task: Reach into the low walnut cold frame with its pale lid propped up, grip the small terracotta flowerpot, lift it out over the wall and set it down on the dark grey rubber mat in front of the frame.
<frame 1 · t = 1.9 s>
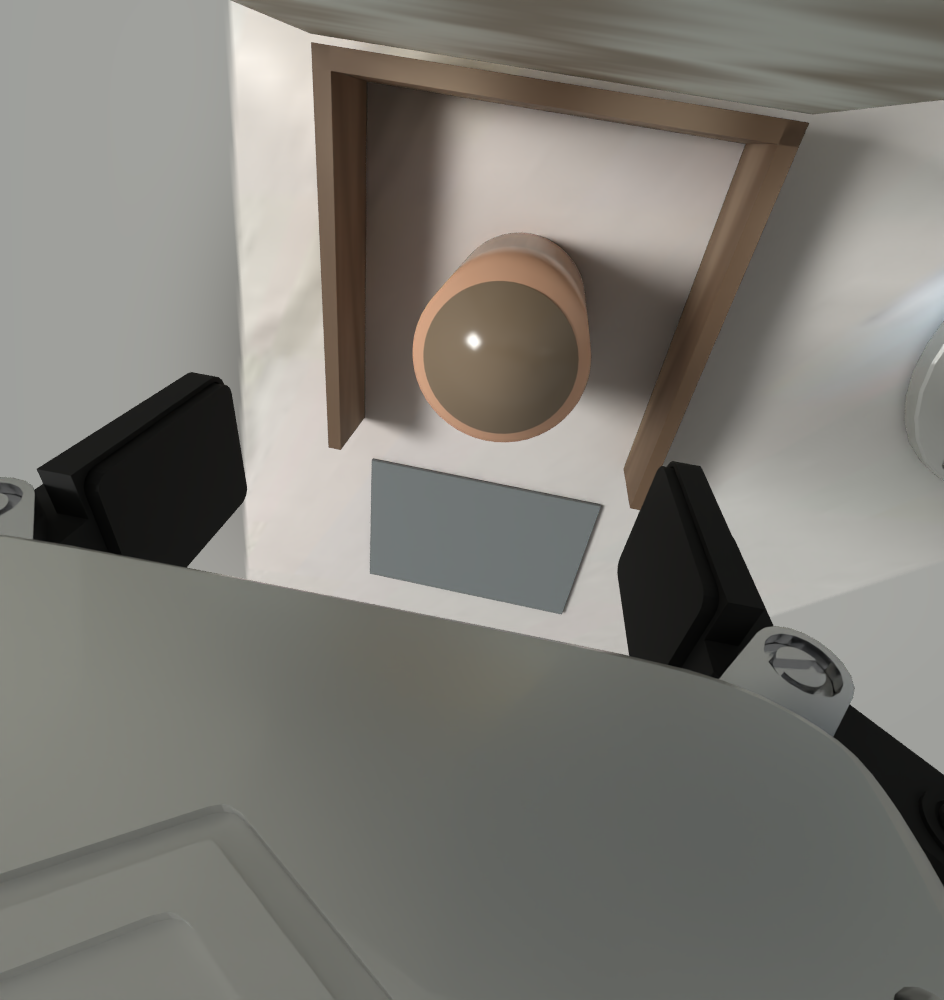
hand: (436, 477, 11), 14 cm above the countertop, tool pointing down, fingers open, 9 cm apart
flowerpot: (517, 307, 22), on the countertop
potting mat: (474, 541, 31), on the countertop
cold frame: (525, 259, 21), on the countertop
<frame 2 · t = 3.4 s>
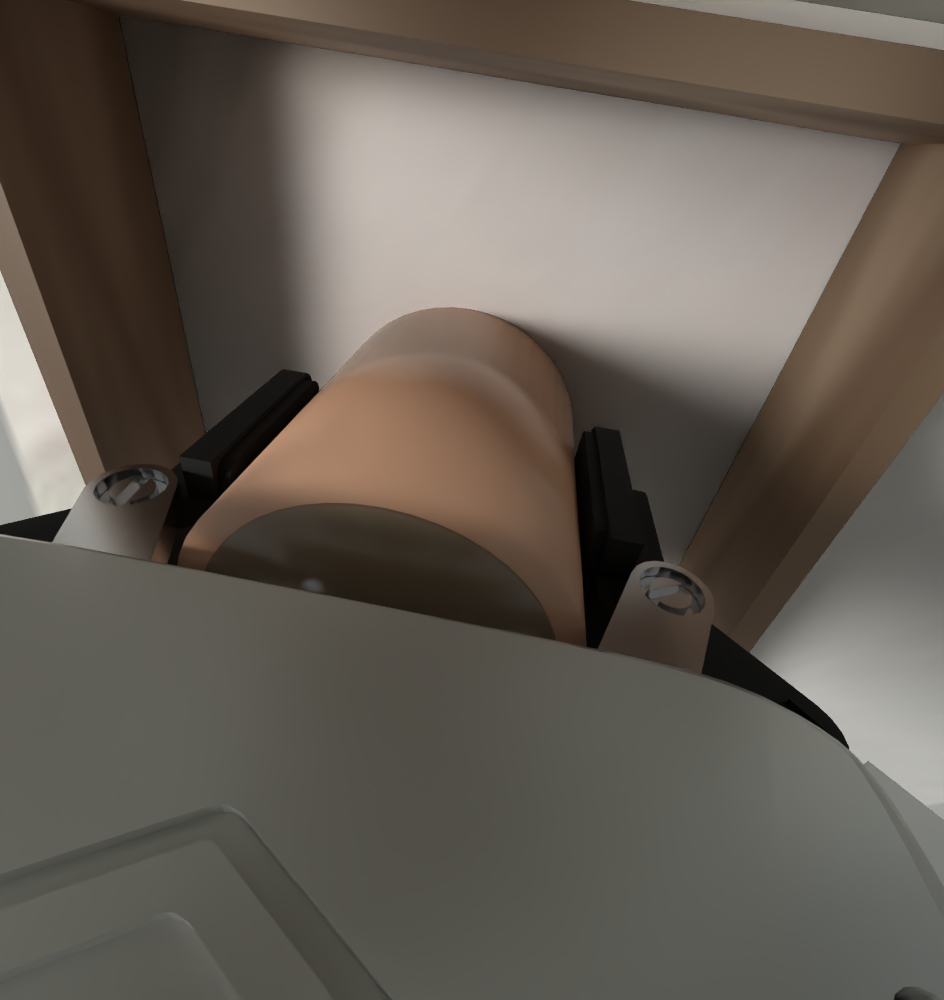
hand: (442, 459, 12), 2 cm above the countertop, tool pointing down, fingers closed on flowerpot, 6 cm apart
flowerpot: (454, 427, 13), on the countertop, touching gripper
cold frame: (464, 352, 12), on the countertop
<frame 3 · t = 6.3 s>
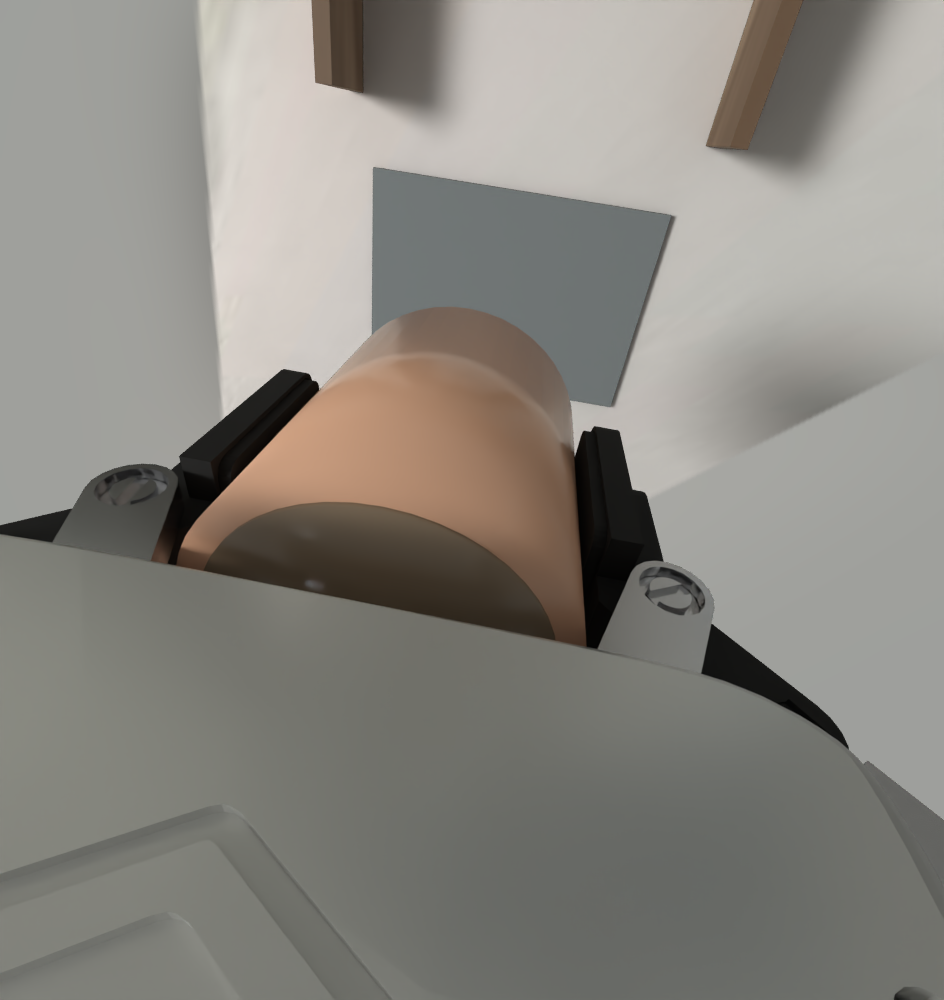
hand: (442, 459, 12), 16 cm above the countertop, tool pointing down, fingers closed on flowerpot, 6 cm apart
flowerpot: (454, 426, 13), point 14 cm above the countertop, touching gripper
potting mat: (503, 298, 24), on the countertop
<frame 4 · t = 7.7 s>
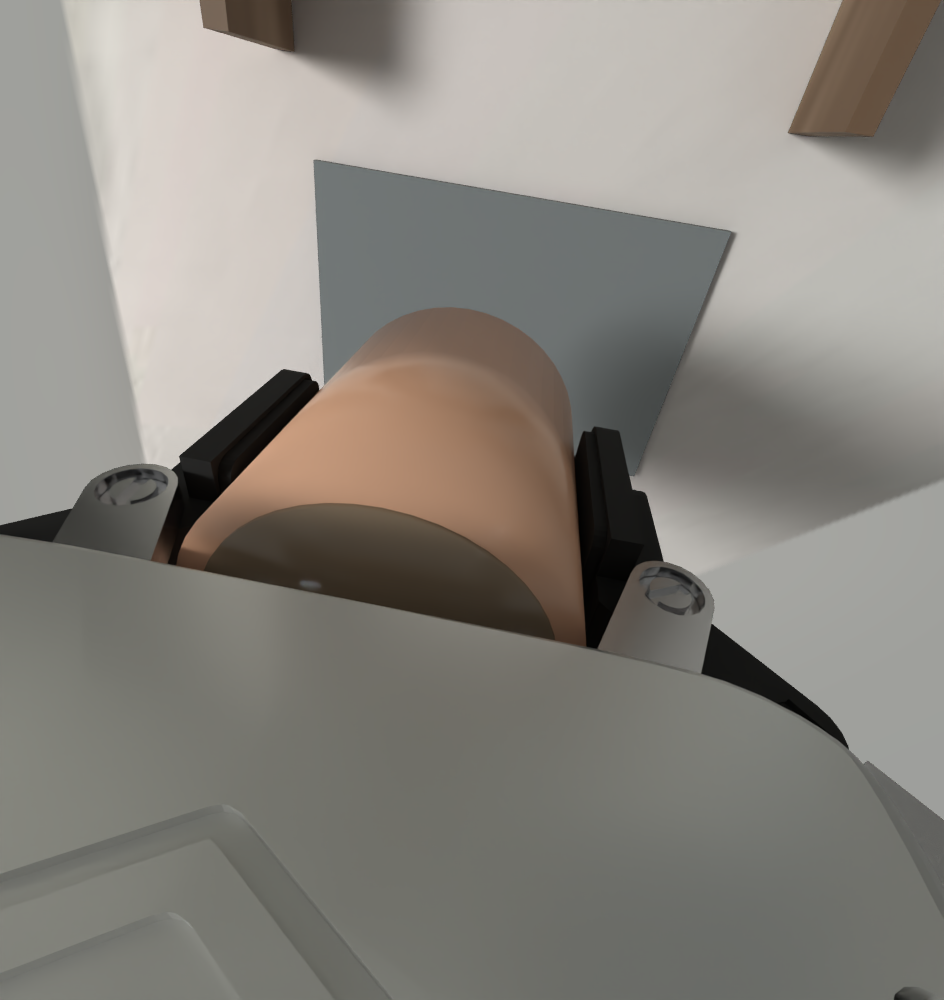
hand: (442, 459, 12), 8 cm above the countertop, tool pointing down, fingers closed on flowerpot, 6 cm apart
flowerpot: (454, 427, 13), point 7 cm above the countertop, touching gripper
potting mat: (496, 337, 18), on the countertop
when the fingers open (3 cm above the countertop, at t = 9.1 s): flowerpot drops 1 cm, resting on potting mat.
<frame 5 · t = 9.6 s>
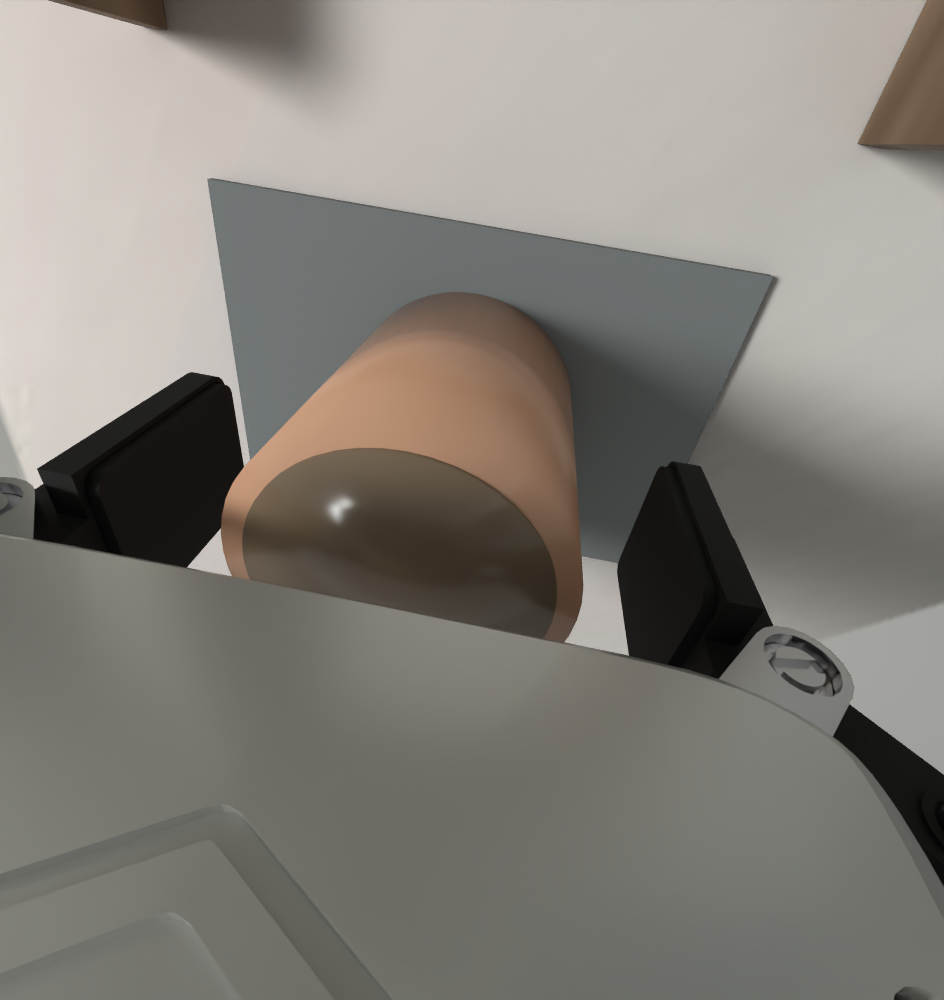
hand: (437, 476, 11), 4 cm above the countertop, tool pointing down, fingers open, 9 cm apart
flowerpot: (461, 405, 14), resting on potting mat
potting mat: (462, 404, 14), on the countertop
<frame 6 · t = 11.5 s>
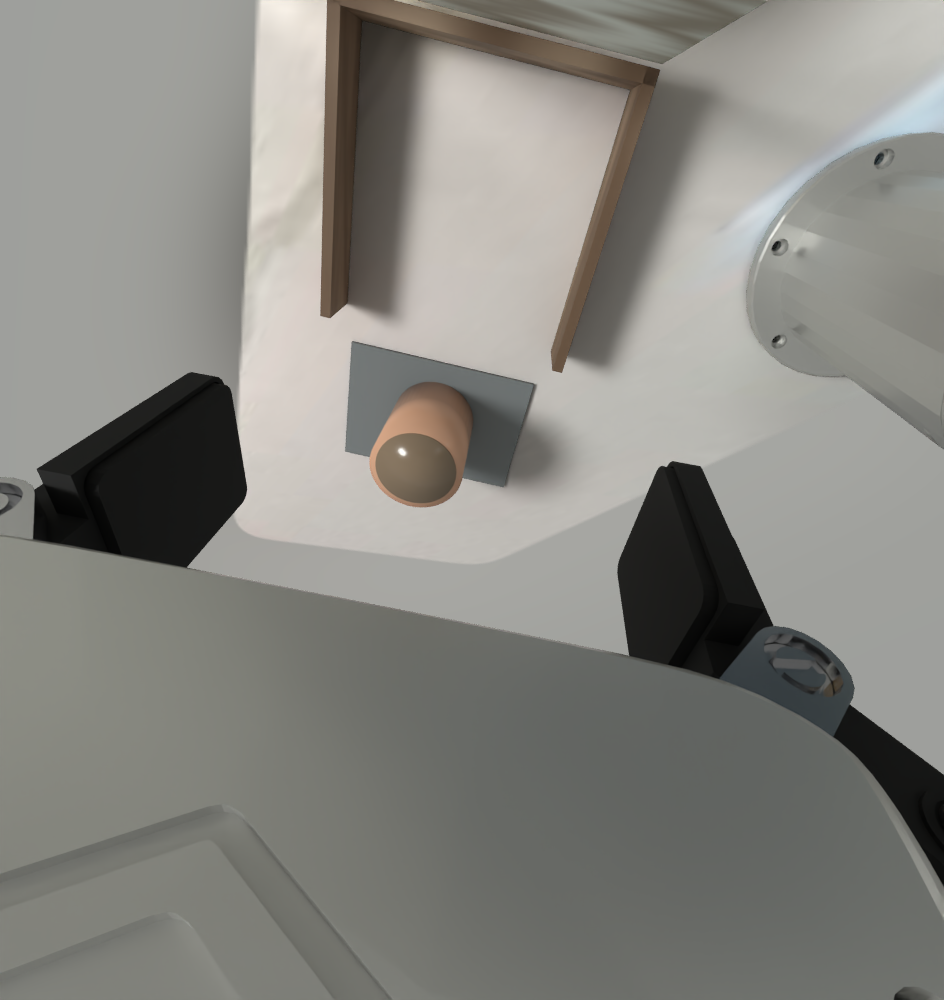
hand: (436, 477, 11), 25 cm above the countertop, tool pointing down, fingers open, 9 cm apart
flowerpot: (433, 419, 38), resting on potting mat
potting mat: (433, 419, 38), on the countertop
cold frame: (477, 170, 28), on the countertop
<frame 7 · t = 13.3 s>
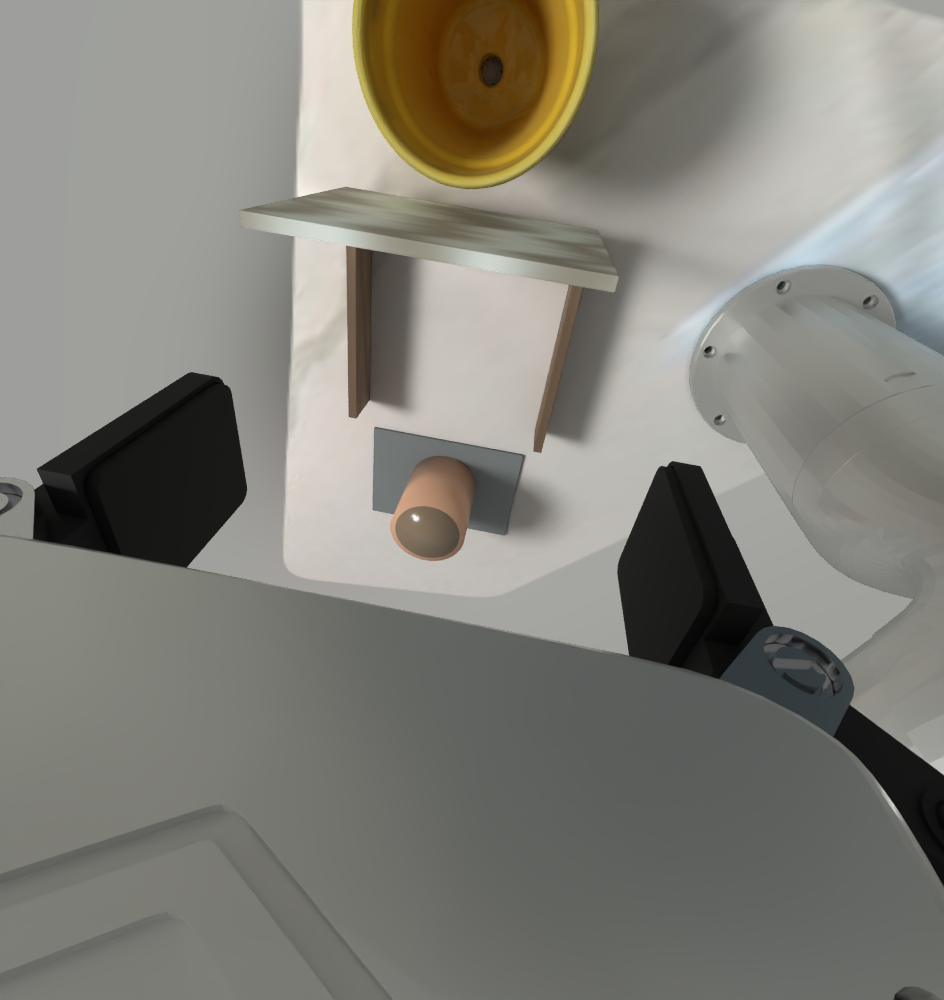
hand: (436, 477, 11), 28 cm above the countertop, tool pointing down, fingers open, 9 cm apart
plant pot: (494, 70, 29), on the countertop
flowerpot: (443, 484, 46), resting on potting mat
potting mat: (443, 483, 46), on the countertop
cold frame: (465, 303, 36), on the countertop
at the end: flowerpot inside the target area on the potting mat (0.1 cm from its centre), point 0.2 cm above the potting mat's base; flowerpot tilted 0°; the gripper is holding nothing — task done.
